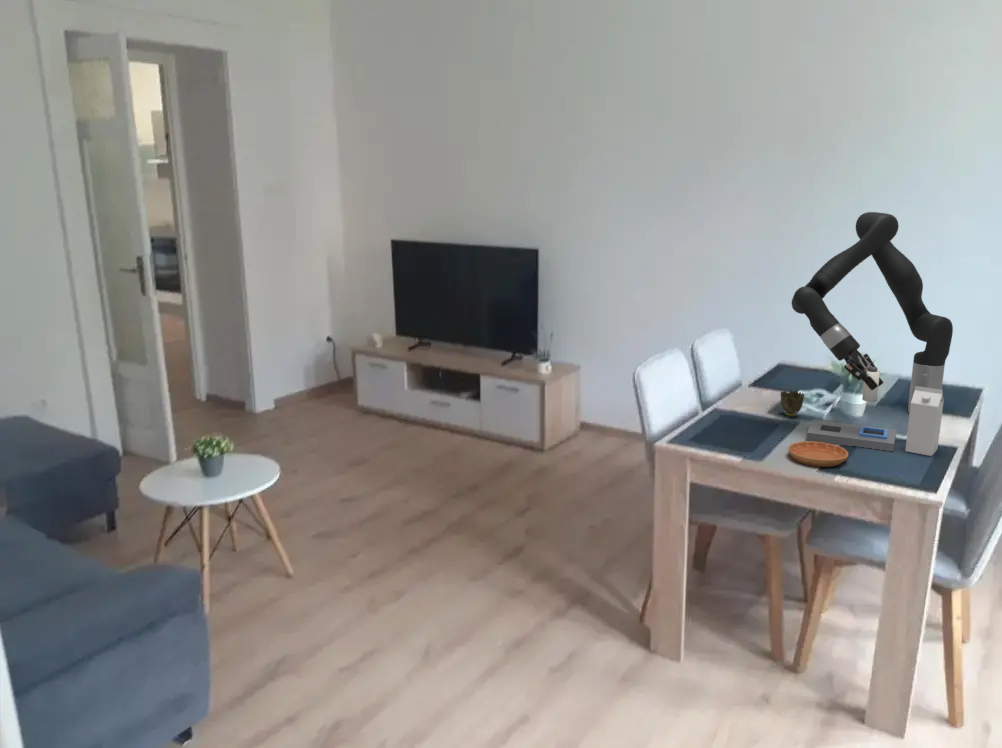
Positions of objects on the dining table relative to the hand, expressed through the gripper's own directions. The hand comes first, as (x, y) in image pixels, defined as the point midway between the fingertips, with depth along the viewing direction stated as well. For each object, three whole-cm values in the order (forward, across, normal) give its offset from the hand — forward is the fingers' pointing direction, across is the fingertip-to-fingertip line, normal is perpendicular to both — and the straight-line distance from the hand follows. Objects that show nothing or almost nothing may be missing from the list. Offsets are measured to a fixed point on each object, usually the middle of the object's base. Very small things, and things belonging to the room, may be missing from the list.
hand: (877, 386), depth 235 cm
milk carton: (+22, +1, +3) cm, 22 cm away
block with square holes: (+8, -2, +16) cm, 18 cm away
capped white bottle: (+2, 0, +5) cm, 5 cm away
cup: (-8, +8, +33) cm, 35 cm away
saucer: (+8, -25, +17) cm, 31 cm away
